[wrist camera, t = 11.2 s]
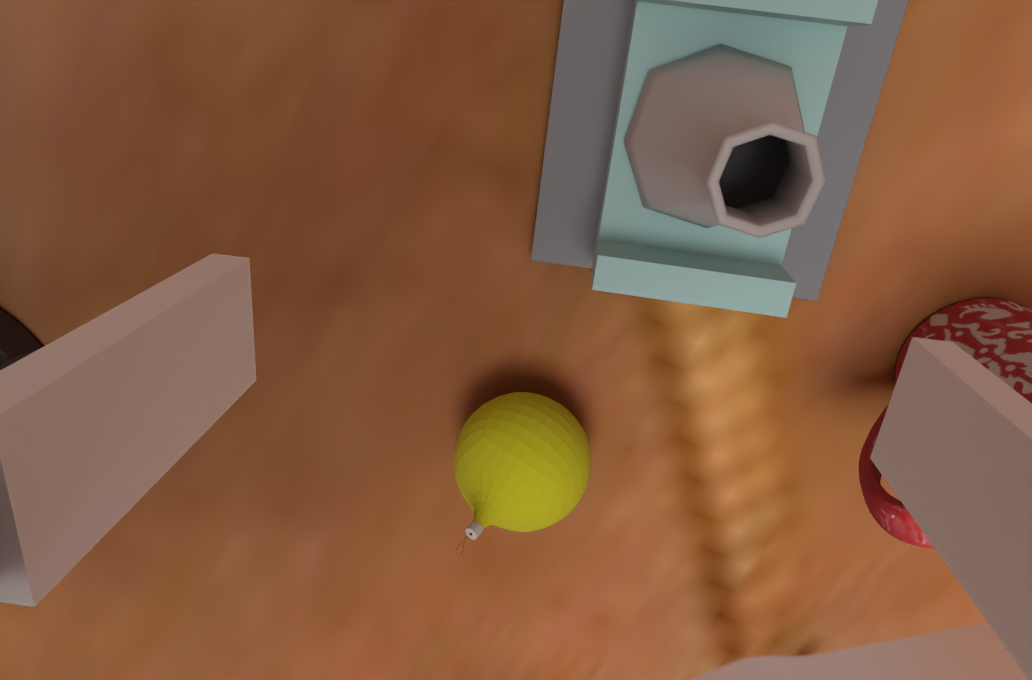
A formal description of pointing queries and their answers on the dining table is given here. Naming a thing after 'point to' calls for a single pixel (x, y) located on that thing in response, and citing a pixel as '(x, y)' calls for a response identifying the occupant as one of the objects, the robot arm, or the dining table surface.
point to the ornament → (521, 463)
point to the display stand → (609, 110)
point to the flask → (724, 144)
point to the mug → (989, 340)
